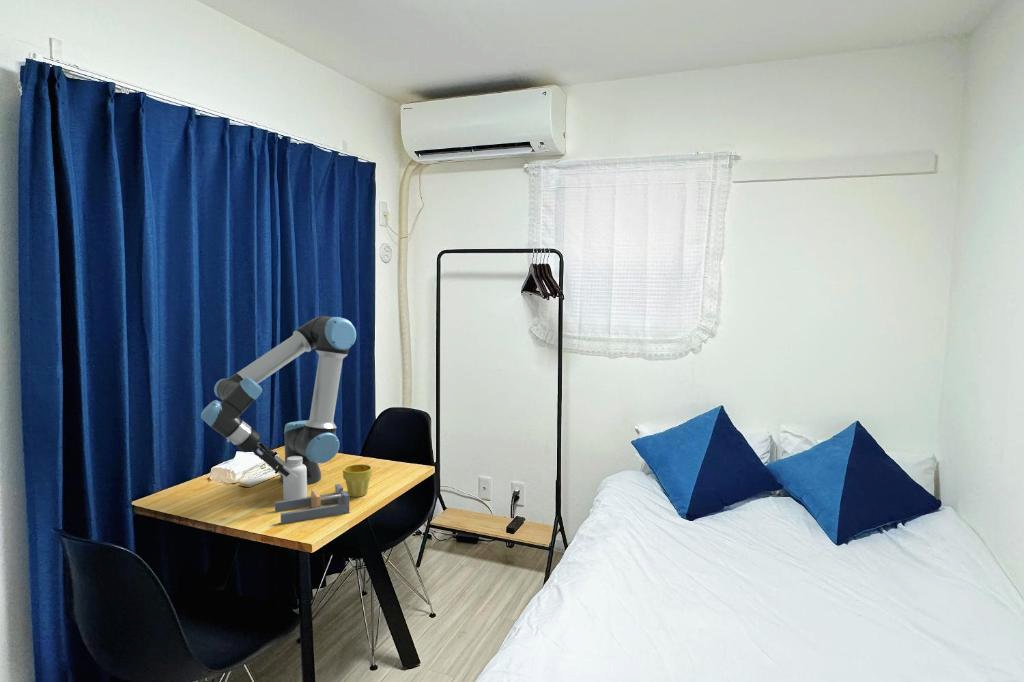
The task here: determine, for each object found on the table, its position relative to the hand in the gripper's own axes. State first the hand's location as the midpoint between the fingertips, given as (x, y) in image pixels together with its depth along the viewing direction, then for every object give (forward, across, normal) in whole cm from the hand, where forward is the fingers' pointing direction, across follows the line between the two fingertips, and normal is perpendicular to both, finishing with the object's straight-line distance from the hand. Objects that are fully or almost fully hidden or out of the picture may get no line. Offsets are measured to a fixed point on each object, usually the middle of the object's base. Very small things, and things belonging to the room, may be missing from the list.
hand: (291, 474), depth 207 cm
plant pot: (+22, +4, +9) cm, 25 cm away
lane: (+9, +14, -4) cm, 17 cm away
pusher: (+13, +14, +1) cm, 20 cm away
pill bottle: (+8, 0, -6) cm, 9 cm away
